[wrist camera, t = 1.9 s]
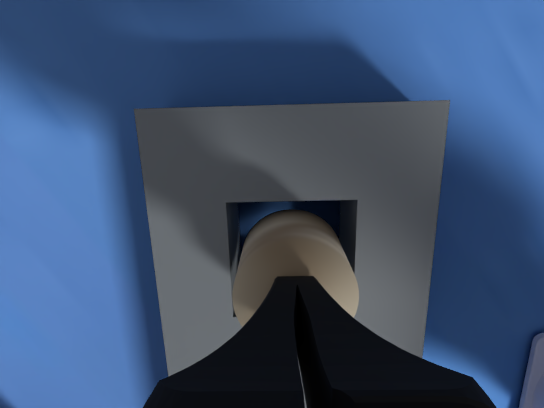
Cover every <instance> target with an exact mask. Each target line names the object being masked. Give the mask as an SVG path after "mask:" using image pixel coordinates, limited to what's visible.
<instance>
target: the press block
mask: <svg viewBox="0 0 544 408" xmlns="http://www.w3.org/2000/svg"><path fill="white" fill-rule="evenodd" d="M449 105H450V100H441V101H405V102H368V103H332V104H295V105H258V106H222V107H185V108H148V109H134V113H135V121H136V129H137V137H138V144H139V152H140V160H141V168H142V175H143V183H144V191H145V199H146V206H147V214H148V222H149V230H150V237H151V245H152V253H153V261H154V268H155V276H156V284H157V292H158V299H159V307H160V315H161V323H162V330H163V338H164V346H165V354H166V361H167V369H168V377H169V376H171V375H173V374H175V373H177V372H179V371H181V370H183V369H185V368H187V367H189V366H191V365H193V364H195V363H196V362H198V361H200V360H201V359H203V358H205V357H206V356H208V355H209V354H211V353H212V352H214V351H215V350H217V349H218V348H219V347H221V346H222V345H223V344H224V343H226V342H227V341H228V340H229V339H231V338H232V337H233V336H234V335H235V334H236V333H237V332H238V331H239V330H240V329H241V328H242V326H241V324H240V322H239V321H238V319H237V316H236V314H235V311H234V308H233V301H232V292H233V285H234V281H235V277H236V273H237V269H238V265H239V261H240V257H241V249H240V231H239V213H238V202H272V201H320V200H340V222H339V241H340V244H341V246H342V248H343V250H344V252H345V255H346V257H347V259H348V261H349V263H350V266H351V268H352V270H353V272H354V274H355V277H356V280H357V283H358V288H359V302H358V308H357V311H356V314H355V316H354V318H355V319H356V320H357V321H358V322H360V323H361V324H362V325H364V326H365V327H367V328H368V329H369V330H371V331H372V332H374V333H375V334H377V335H378V336H380V337H382V338H383V339H385V340H387V341H388V342H390V343H392V344H394V345H396V346H397V347H399V348H401V349H403V350H405V351H407V352H409V353H411V354H413V355H415V356H418V357H420V358H422V355H423V346H424V337H425V328H426V318H427V309H428V300H429V291H430V281H431V272H432V263H433V253H434V244H435V235H436V226H437V216H438V207H439V198H440V188H441V179H442V170H443V161H444V151H445V142H446V133H447V124H448V114H449ZM298 362H299V361H298ZM299 369H300V367H299ZM300 375H301V372H300ZM301 381H302V378H301ZM302 386H303V384H302ZM303 392H304V389H303ZM304 403H305V408H307V406H306V401H305V395H304Z"/></svg>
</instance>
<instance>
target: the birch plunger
mask: <svg viewBox="0 0 544 408" xmlns="http://www.w3.org/2000/svg"><path fill="white" fill-rule="evenodd" d="M277 276H314V277H315V278H316V279H317V280H318V282H319V283H320V284H321V285H322V286H323V288H324V289H325V290H326V291H327V292H328V293H329V295H330V296H331V297H332V298H333V299H334V300H335V301H336V302H337V303H338V304H339V305H340V306H341V307H342V308H343V309H344V310H345V311H346V312H348V313H349V314H350V315H351V316H352V317H353V318H354V316H355V314H356V311H357V308H358V302H359V288H358V283H357V280H356V277H355V274H354V272H353V270H352V268H351V266H350V263H349V261H348V259H347V257H346V255H345V252H344V250H343V248H342V246H341V244H340V241H339V239H338V237H337V235H336V233H335V232H334V230H333V229H332V227H331V226H330V225H329V224H328V223H327V222H326V221H324V220H323V219H322V218H320V217H319V216H317V215H315V214H313V213H310V212H307V211H303V210H296V209H289V210H281V211H277V212H274V213H271V214H269V215H267V216H265V217H264V218H262V219H261V220H260V221H258V222H257V223H256V224H255V225H254V226H253V228H252V229H251V230H250V232H249V233H248V235H247V237H246V239H245V242H244V245H243V249H242V253H241V257H240V261H239V265H238V269H237V273H236V277H235V281H234V285H233V292H232V301H233V308H234V311H235V314H236V316H237V319H238V321H239V322H240V324H241V326H242V327H243V326H244V325H245V324H246V323H247V322H248V320H249V319H250V318H251V317H252V316H253V314H254V313H255V312H256V310H257V309H258V308H259V306H260V305H261V304H262V302H263V300H264V299H265V297H266V296H267V294H268V292H269V291H270V289H271V287H272V285H273V282H274V279H275V278H276V277H277Z"/></svg>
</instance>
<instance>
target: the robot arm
mask: <svg viewBox="0 0 544 408" xmlns="http://www.w3.org/2000/svg"><path fill="white" fill-rule="evenodd" d="M298 361H299V362H298ZM299 367H300V369H299ZM300 372H301V375H300ZM301 378H302V381H301ZM302 384H303V386H302ZM303 389H304V392H303ZM304 395H305V401H306V406H307V408H496V406H495V405H494V404H493V402H492V401H491V400H490V398H489V397H488V395H487V394H486V393H485V392H484V391H483V389H482V388H481V387H480V386H479V385H478V383H477V382H476V381H475V380H474V379H473V377H470V376H467V375H464V374H461V373H459V372H456V371H453V370H450V369H447V368H444V367H442V366H439V365H436V364H434V363H431V362H429V361H427V360H424V359H422V358H420V357H418V356H415V355H413V354H411V353H409V352H407V351H405V350H403V349H401V348H399V347H397V346H396V345H394V344H392V343H390V342H388V341H387V340H385V339H383V338H382V337H380V336H378V335H377V334H375V333H374V332H372V331H371V330H369V329H368V328H367V327H365V326H364V325H362V324H361V323H360V322H358V321H357V320H356V319H355V318H353V317H352V316H351V315H350V314H349V313H348V312H346V311H345V310H344V309H343V308H342V307H341V306H340V305H339V304H338V303H337V302H336V301H335V300H334V299H333V298H332V297H331V296H330V295H329V293H328V292H327V291H326V290H325V289H324V288H323V286H322V285H321V284H320V283H319V282H318V280H317V279H316V278H315V277H314V276H277V277H276V278H275V279H274V282H273V285H272V287H271V289H270V291H269V292H268V294H267V296H266V297H265V299H264V300H263V302H262V304H261V305H260V306H259V308H258V309H257V310H256V312H255V313H254V314H253V316H252V317H251V318H250V319H249V320H248V322H247V323H246V324H245V325H244V326H243V327H242V328H241V329H240V330H239V331H238V332H237V333H236V334H235V335H234V336H233V337H232V338H231V339H229V340H228V341H227V342H226V343H224V344H223V345H222V346H221V347H219V348H218V349H217V350H215V351H214V352H212V353H211V354H209V355H208V356H206V357H205V358H203V359H201V360H200V361H198V362H196V363H195V364H193V365H191V366H189V367H187V368H185V369H183V370H181V371H179V372H177V373H175V374H173V375H171V376H169V377H167V378H164V379H162V380H160V381H159V382H158V383H157V385H156V387H155V388H154V390H153V392H152V394H151V395H150V397H149V398H148V400H147V402H146V403H145V405H144V407H143V408H305V403H304ZM519 408H544V333H540V334H538V335H536V336H535V337H534V339H533V341H532V346H531V351H530V356H529V361H528V366H527V370H526V375H525V380H524V385H523V390H522V395H521V399H520V404H519Z"/></svg>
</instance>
